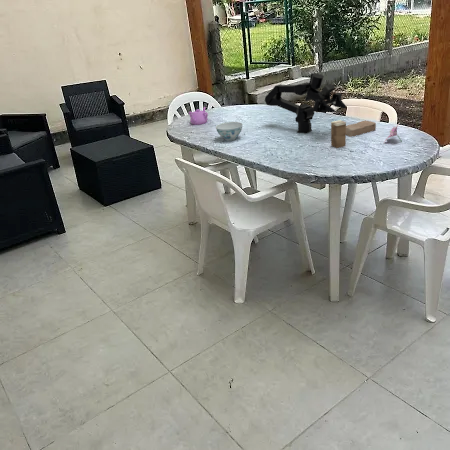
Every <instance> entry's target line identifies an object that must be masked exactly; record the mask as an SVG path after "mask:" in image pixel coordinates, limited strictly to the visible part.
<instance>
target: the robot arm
mask: <svg viewBox="0 0 450 450" xmlns="http://www.w3.org/2000/svg"><path fill="white" fill-rule="evenodd" d="M324 78H325V77H324V75H323V74H322V73H321V74H320V73H315V72H312V73H311V74H310V79H309V82H301V83H299V84H298V83H297V84H278V85H274V86H273V87H272V89H271V90H270V91H268V93H267V94H266V95H265V98H264V102H265V104H266V106H271V107H272V106H273V107H276V106H277V107H279V108H282V109H283V110H287V111H288V112H292V113H294V114H296V116H295V118H294V119H295V122H296V123H297V131H296V133H299V134H308V133H309V132H311V131H313V129H312V123H311V121H312V120H313V118H314V116H315V112H316V113H335V112H336V110H335V109H334V108H333V107H331V106H334V107H335V108H341V109H346V108H347V105H346V104H345V103H344V102H343V100H342V95H343V94H342V93H340V92H337V93H334V94H331V93H332V92H333V91H334V90H335V86H334V84H332V83H329V84H326V85H325V86H323V88H322V90H321V91H320V90H319V89H320V88H321V87H322V84H323V81H324ZM282 93H286V94H287V93H288V94H290V93H293V94H295V95H298V96H304V95H306V96H304V97H305V102H308V101H311V100H312V102H314V106H312V105H308V104H307V103H304V104H297V103H294V102H291V101H289V100H286V99H285V98H283V97H282V95H283V94H282ZM331 96H332V97H331ZM330 105H331V106H330Z"/></svg>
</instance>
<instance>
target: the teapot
mask: <svg viewBox="0 0 450 450" xmlns="http://www.w3.org/2000/svg"><path fill="white" fill-rule="evenodd" d="M188 116H189V117H190V120H189V121H190V124H191V125H193V126H195V125H196V126H201V125H204V124H207V122H208V121H209V120H208V116H209V113H208V112H206V106H204V107H203V109H202V110H200V109H199V108H198V109H195V110H194V111H188Z"/></svg>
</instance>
